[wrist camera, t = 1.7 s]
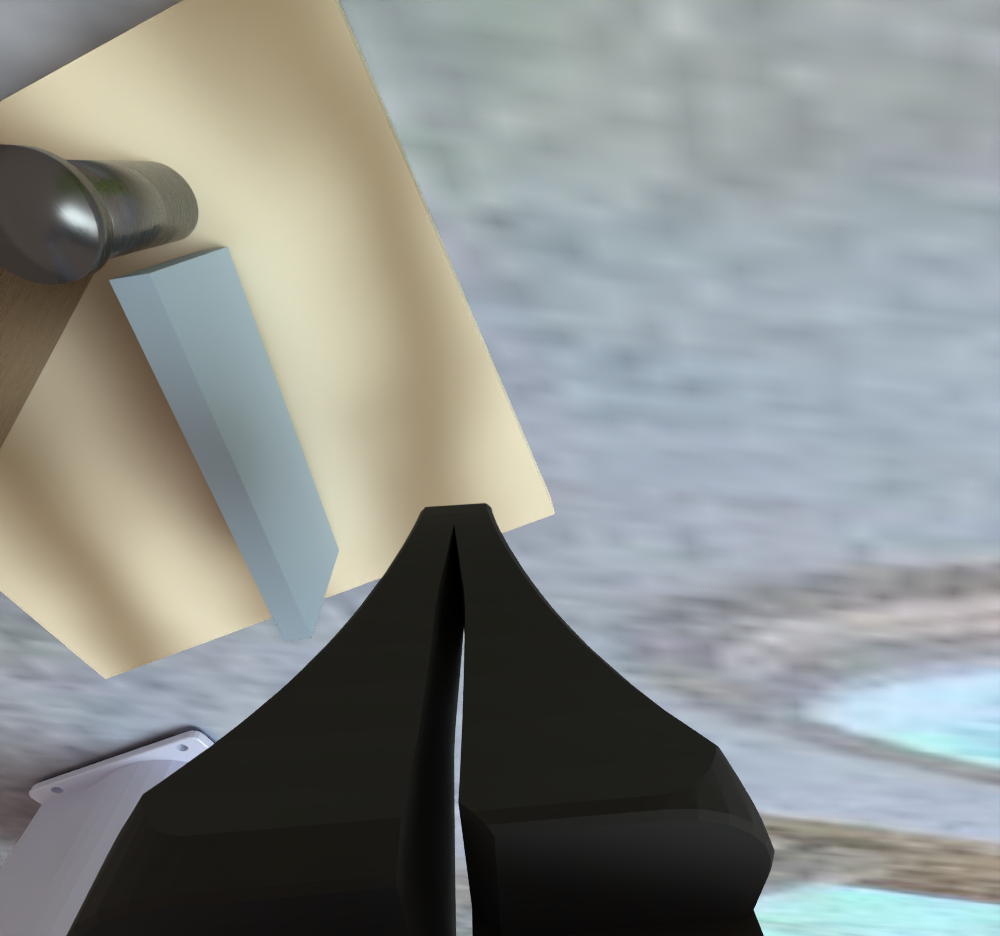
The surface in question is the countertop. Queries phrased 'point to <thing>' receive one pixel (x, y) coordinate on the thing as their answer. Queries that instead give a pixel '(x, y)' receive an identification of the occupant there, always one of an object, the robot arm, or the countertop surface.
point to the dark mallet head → (69, 246)
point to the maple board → (279, 318)
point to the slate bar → (236, 426)
